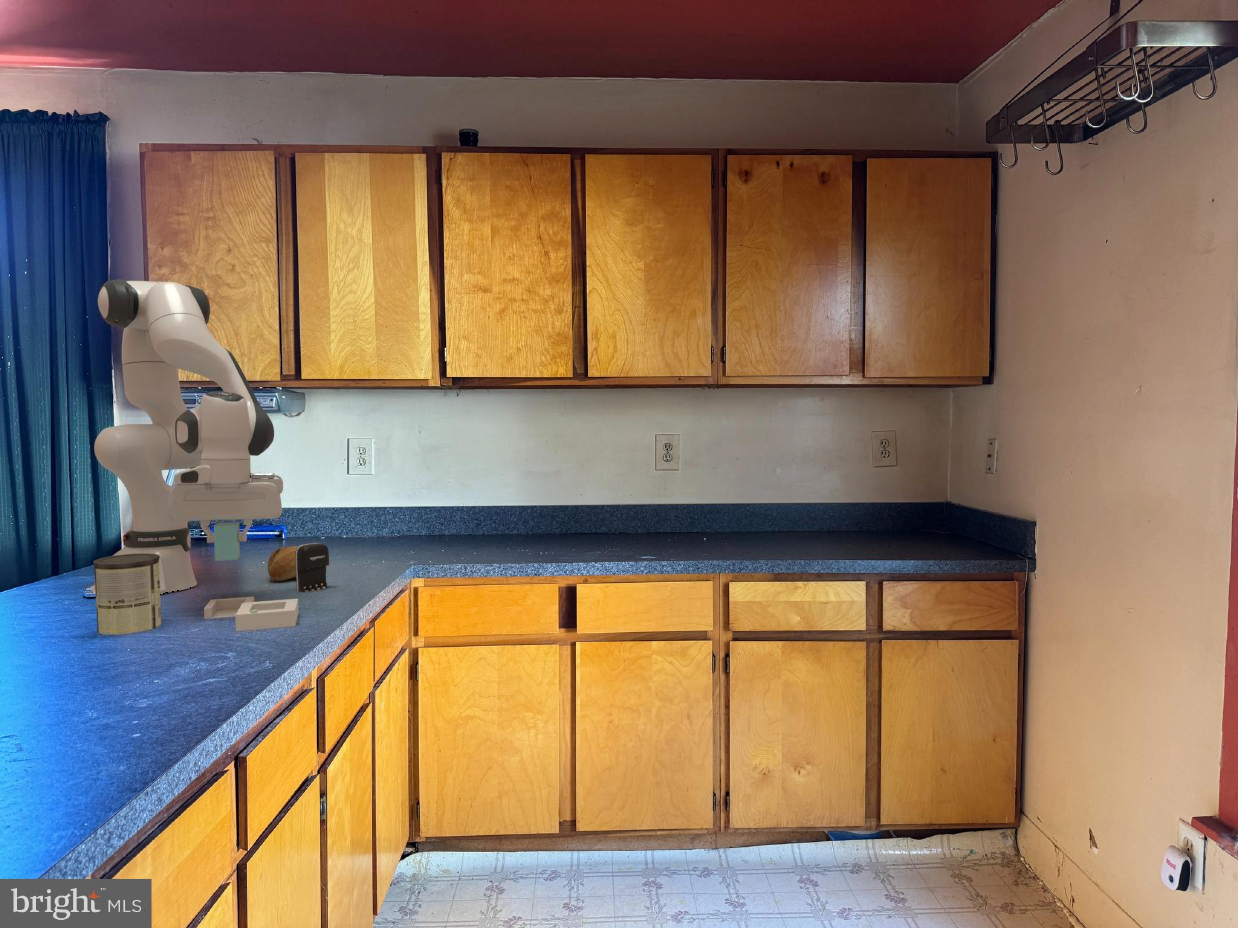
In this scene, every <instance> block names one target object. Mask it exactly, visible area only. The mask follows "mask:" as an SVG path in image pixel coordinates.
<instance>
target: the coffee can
mask: <svg viewBox="0 0 1238 928" xmlns="http://www.w3.org/2000/svg"><path fill="white" fill-rule="evenodd" d="M159 559H160V556H159V555H157V554H149V553H148V554H147V553H140V554H124V555H116V556H113V555H111V556H110V555H109V556H106V557H105V556H104V557H100V558H98V559H95V560H93V567H94V584H95V590H96V598H95V607H96V627H97V630H96V631H97V634H98V633H99V635H103V636H104V635H105V636H115V635H117V636H118V635H120V636H121V635H122V636H123V635H129V634H136V633H142V632H147V631H151V630H153V629H157V628H158V627H160V626H162V606H161V595H160V576H159Z"/></svg>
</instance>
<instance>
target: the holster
mask: <svg viewBox="0 0 1238 928" xmlns="http://www.w3.org/2000/svg"><path fill="white" fill-rule="evenodd" d="M247 602H255V596H246V597H228V598H218V599H217V598H216V599H210V600H209V601H208V603H207V604H206V605H205V607H204V608H203V619H204V620H210V619H211V620H212V619H222V618H224V619H225V618H232V617H233V618H234V617H235V618H236V616H235V615H236V613H237V611H238V610H239V608H240V606H241V605H242V603H247Z"/></svg>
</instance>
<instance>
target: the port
mask: <svg viewBox="0 0 1238 928" xmlns="http://www.w3.org/2000/svg"><path fill="white" fill-rule="evenodd" d="M235 616H236V617H235V632H244V631H245V632H246V631H247V632H248V631H257V630H268V629H270V630H271V629H280V628H281V629H282V628H291V627H292V628H293V627H296V625H297V621H298V617H299V598H291V599H290V598H289V599H275V600H264V601H263V600H262V601H254V602H247V603H242V605H241V606H240V608H239V610H238V611H237V613H236V615H235Z"/></svg>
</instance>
